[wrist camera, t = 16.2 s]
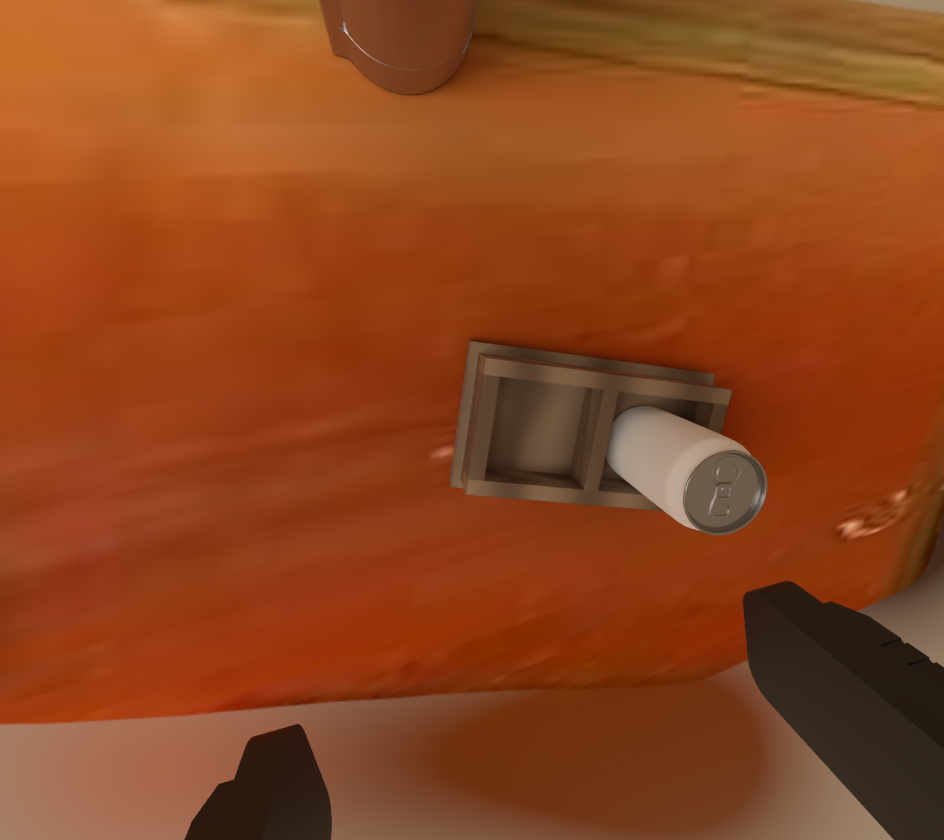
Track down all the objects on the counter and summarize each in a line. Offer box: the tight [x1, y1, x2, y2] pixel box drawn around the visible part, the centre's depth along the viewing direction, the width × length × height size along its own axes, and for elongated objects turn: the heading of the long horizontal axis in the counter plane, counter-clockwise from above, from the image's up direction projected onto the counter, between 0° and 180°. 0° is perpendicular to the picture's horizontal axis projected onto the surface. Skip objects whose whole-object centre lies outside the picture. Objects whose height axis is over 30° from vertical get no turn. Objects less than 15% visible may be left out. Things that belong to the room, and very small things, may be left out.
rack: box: [449, 340, 732, 511], centre depth 41 cm, size 21×12×5 cm, turn 82°
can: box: [605, 406, 767, 535], centre depth 37 cm, size 6×6×12 cm
